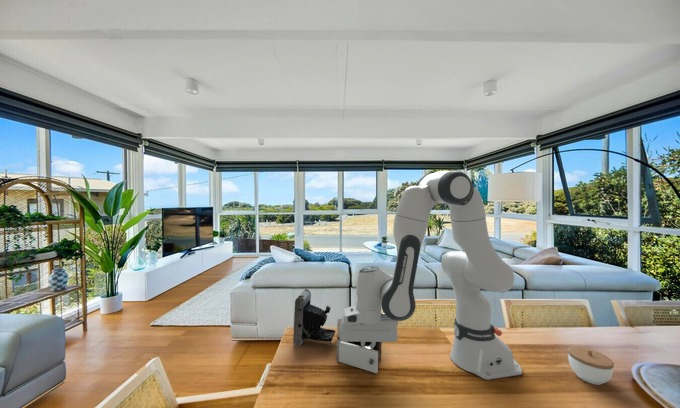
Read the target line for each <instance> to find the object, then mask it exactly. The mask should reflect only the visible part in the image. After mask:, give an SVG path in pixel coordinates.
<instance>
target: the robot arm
mask: <svg viewBox="0 0 680 408" xmlns="http://www.w3.org/2000/svg"><path fill="white" fill-rule="evenodd" d="M436 204H438V205H439V204H441V205H442V204H446V205H447V206H448V208H449V209H448V210H449V214H450V223H451V225H450V226H451V230H452V237H453V240H454V242H455V244H457V245H458V246H459V247H460V248H461V250H450V251H447V252H445V254H444V255H442V259H441V263H440V264H441V269H442V272H443V273H444V274H445V275H446V276H447V278H448V279H449V282H450V284H451V285H452V289H453V292H454V297H455V318H454V325H453V326H454V327H453V333H454V339H453V344H452V348H451V350H450V354H449V357H450V359H451V362H453V363H454V364H455V365H456V366H457V367H459V368H461V369H462V370H465V371H467V372H469V373H472V374H474V375H476V376H478V377H480V378H482V379H483V380H487V381H489V380H492V379H500V378H507V377H512V376H521V375H523V371H522V370H523V369H522V367H521V365H520V364H519V363H518V362H517V360H515V359H514V355H513V352H512V350H511V348H510V347H509V346H508V345H507V344H506V343H505V342H503V341H502V340H501V338H499V337H501V336H503V331H502V330H500V329H499V327H495V326H494V325H493V324H492V323H491V322H492V321H491V319H492V318H491V317H492V316H491V314H492V307H491V304H490V301H489V300H488V299H487V297H485V295H484V294H483V292H482V291H481V290H484V291H487V292H493V293H499V294H504V293H506V292H509V291H510V290H511V288H513V286H514V283H515V274H514V270H513V269H512V267H511V266H510V265H509V264H508V263H506V261H505V260H503V259H502V258H501V256H499V254H498V253H497V251H496V249H495V248H494V246H493V244H492V241H491V239H490V236H489V231H488V227H487V226H488V224H487V218H486V217H487V216H486V211H485V206H484V202H483V199H482V195H481V193H480V191H479V190H478V189H477V188H476V187H474V186H473V182H472V180H471V178H470V176H469V175H468V174H467V173H464V172H463V171H460V170H459V171H458V170H442V171H441V170H439V171H437V172H430V173H426V174H425V175H423V176H422V177H420V178H419V180H418V181H417V183H416V184H415V185H411V186H408V187H406V188H405V189H404V191H403V192H402V195H401V197H400V199H399V202H398V204H397V208H396V211H395V216H394V221H393V238H394V243H395V247H396V262H395V266H394V271H393V275H392V274H391V273H387V272H386V271H385V270H383V269H381V267H379V266H375V265H368V266H364V267H362V268H361V269H360V270H359V271H358V273H357V278H356V285H355V286H356V297H357V298H356V303H355V305H352V306H348V307H345V308H344V309H343V312H342V314H343V315H342V318H340V319H341V323H340V330H339V339H340V340H341V341H348V342H361V345H362V347H365V348H369V349H373V348H374V346H375V345H376V342H382V343H395V342H397V341H398V338H399V336H398V328H397V326H398V325H399V322H404V321H406V320H408V319H410V318H411V317H412V316H413V315H414V313H415V312H416V299H415V295H414V286H415V280H416V273H417V270H418V269H417V268H418V264H419V257H420V253H421V250H422V247H423V243H424V239H425V236H426V233H427V229H428V225H429V221H430V216H431V212H432V210H433V208H434V206H436ZM365 342H371V344H370V346H365V345H364V344H365Z"/></svg>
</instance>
